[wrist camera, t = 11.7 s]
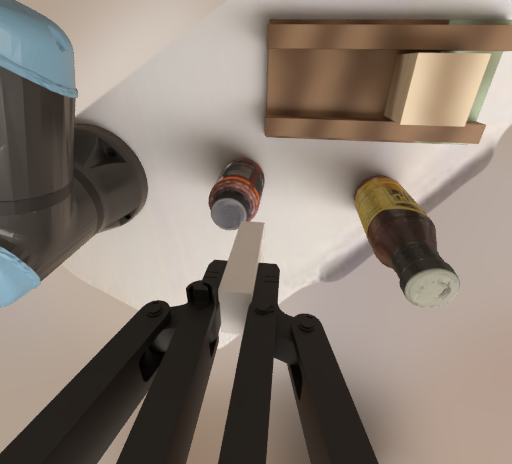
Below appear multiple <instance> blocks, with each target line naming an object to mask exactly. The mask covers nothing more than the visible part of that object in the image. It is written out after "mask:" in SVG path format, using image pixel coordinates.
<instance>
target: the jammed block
mask: <svg viewBox="0 0 512 464" xmlns="http://www.w3.org/2000/svg"><path fill="white" fill-rule="evenodd" d="M490 56H491V54H488V53H410V54H399V55H397V58H396V63H395V67H394V72H393V76H392V81H391V85H390V90H389V94H388V98H387V103H386V107H385V112H384V116H386V117H388V118H389V119H391V120H393V121H395V122H396V123H398V124H400V125H427V126H457V127H465V124H466V122H467V119H468V116H469V113H470V111H471V108H472V105H473V103H474V100H475V97H476V94H477V92H478V89H479V86H480V83H481V81H482V78H483V75H484V73H485V70H486V67H487V64H488V62H489V59H490Z"/></svg>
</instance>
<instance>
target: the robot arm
mask: <svg viewBox="0 0 512 464" xmlns="http://www.w3.org/2000/svg"><path fill="white" fill-rule="evenodd" d="M77 96H78V91H77V89H76V88H75V70H74V52H73V48H72V45H71V42H70V40H69V39H68V37H67V35H66V34H65V33H64V31H63V30H62V29H61V28H60V27H59V26H57V25H56V24H55V23H54V22H52V21H51V20H50V19H48V18H47V17H45V16H43V15H42V14H40V13H38V12H36V11H34V10H32V9H31V8H29V7H27V6H25V5H23V4H21V3H19V2H17V1H15V0H0V307H5V306H8V305H10V304H12V303H14V302H15V301H17V300H18V299H19V298H21V297H22V296H24V295H25V294H27V293H28V292H29V291H31V290H32V289H35V288H36V287H38V286H39V285H40V282H41V281H42V280H43V279H44V278H46V277H47V276H48V275H49V274H50V273H51V272H53V271H54V270H55V269H56V268H57V267H58V266H59V265H61V264H62V263H63V262H64V261H65V260H66V259H68V258H69V257H70V256H71V255H72V254H73V253H74V252H76V251H77V250H78V249H79V248H80V247H81V246H83V245H84V244H85V243H86V242H87V241H88V240H89V239H91V238H92V237H93V236H94V235H95V234H97V233H100V232H103V231H106V230H110V229H113V228H116V227H119V226H122V225H124V224H126V223H127V222H129V221H130V220H131V219H133V218H134V217H135V216H136V215H137V214H138V213H139V212H140V211H141V209H142V208H143V206H144V204H145V202H146V199H147V192H148V186H147V179H146V175H145V172H144V169H143V167H142V165H141V163H140V161H139V160H138V158H137V156H136V155H135V154H134V152H133V151H132V150H131V149H130V148H129V147H128V146H127V145H126V144H125V143H124V142H123V141H122V140H121V139H119V138H118V137H117V136H115V135H114V134H112V133H110V132H108V131H106V130H104V129H102V128H99V127H96V126H92V125H84V124H81V125H74V122H75V98H77ZM264 226H265V223H261V222H246V221H241V224H240V227H239V230H238V233H237V236H236V239H235V242H234V245H233V248H232V251H231V253H230V256H229V259H228V261H224V260H214V261H213V262H211V263H210V264H209V265H208V268H207V270H206V272H205V275H204V277H203V279H202V280H199V281H195V282H193V283H191V284H189V285H188V287H187V288H186V292H187V299H188V303H186V304H184V305H180V306H174V307H170V306H169V305H168V303H166V302H165V301H160V300H157V301H152V302H150V303H147V304H146V305H145V306H143V307H142V308H141V309H140V310H139V311H138V312H137V313H136V314H135V315H134V316H133V318H132V319H131V320H130V321H129V322H128V323H127V324H126V325H125V326H124V327H123V328H122V329H121V330H120V331H119V332H118V333H117V334H116V335H115V336H114V337H113V338H112V339H111V340H110V341H109V342H108V343H107V344H106V345H105V346H104V348H102V349H101V350H100V351H99V353H98V354H97V355H96V356H95V357H94V358H93V359H92V360H91V361H90V362H89V363H88V364H87V365H86V366H85V367H84V368H83V369H82V370H81V371H80V372H79V373H78V374H77V375H76V376H75V377H74V378H73V379H72V380H71V382H69V383H68V384H67V386H66V387H64V388H63V390H62V391H61V392H60V393H59V394H58V395H57V396H56V397H55V398H54V399H53V400H52V401H51V402H50V403H49V404H48V405H47V406H46V407H45V408H44V409H43V410H42V411H41V412H40V413H39V414H38V415H37V416H36V417H35V418H34V419H33V421H32V422H30V424H29V425H28V426H27V427H26V428H25V429H24V430H23V431H22V432H21V433H20V434H19V435H18V436H17V437H16V438H15V439H14V440H13V441H12V442H11V443H10V444H9V445H8V446H7V447H6V448H5V449H4V450H3V451H2V452H1V453H0V464H97V463H98V461H99V460H100V459H101V457H102V456H103V454H104V453H105V452H106V450H107V449H108V447H109V446H110V444H111V443H112V442H113V440H114V439H115V437H116V436H117V435H118V433H119V432H120V430H121V429H122V427H123V426H124V425H125V423H126V422H127V420H128V419H129V418H130V416H131V415H132V413H133V412H134V410H135V409H136V408H137V406H138V405H139V403H140V402H141V400H142V399H143V398H144V396H145V395H146V393H147V392H148V393H147V395H146V398H145V400H144V402H143V404H142V407H141V409H140V411H139V413H138V416H137V418H136V420H135V422H134V425H133V427H132V429H131V431H130V434H129V436H128V438H127V441H126V443H125V445H124V447H123V449H122V452H121V454H120V456H119V458H118V461H117V463H116V464H186V462H187V458H188V454H189V450H190V447H191V443H192V439H193V435H194V431H195V428H196V424H197V421H198V417H199V413H200V409H201V405H202V402H203V398H204V395H205V391H206V387H207V383H208V380H209V376H210V372H211V368H212V365H213V361H214V357H215V354H216V350H217V346H218V342H219V336H218V333H219V330H220V326H221V333H229V334H239V335H243V338H242V342H241V348H240V353H239V358H238V363H237V368H236V373H235V379H234V384H233V389H232V395H231V399H230V405H229V410H228V416H227V420H226V425H225V431H224V436H223V441H222V446H221V451H220V457H219V462H218V464H266V455H267V441H268V427H269V414H270V400H271V386H272V373H273V359H274V358H277V359H278V360H281V361H283V362H285V363H287V365H288V370H289V374H290V378H291V383H292V387H293V391H294V395H295V399H296V403H297V408H298V411H299V416H300V420H301V424H302V429H303V433H304V437H305V441H306V445H307V450H308V454H309V458H310V462H311V464H378V461H377V459H376V457H375V454H374V451H373V449H372V446H371V444H370V442H369V439H368V437H367V434H366V432H365V429H364V427H363V424H362V422H361V419H360V417H359V415H358V412H357V410H356V407H355V405H354V403H353V400H352V397H351V395H350V392H349V390H348V388H347V385H346V383H345V380H344V378H343V375H342V373H341V371H340V368H339V366H338V363H337V361H336V358H335V356H334V353H333V351H332V348H331V346H330V343H329V341H328V338H327V336H326V334H325V331H324V329H323V326H322V324H321V322H320V321H319V319H317V318H316V317H315V316H313V315H310V314H299V315H297V316H295V317H292V316H289V315H287V314H285V313H284V312H282V311H281V310H280V308H279V306H278V288H279V274H280V270H279V268H278V266H277V264H269V263H263V257H264Z"/></svg>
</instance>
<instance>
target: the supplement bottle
mask: <svg viewBox="0 0 512 464" xmlns="http://www.w3.org/2000/svg"><path fill="white" fill-rule="evenodd" d="M263 187H264V174H263V172H262V170H261V168H260V167H259V166H258V165H257V164H256V163H255V162H253V161H251V160H248V159H237V160H234V161H232V162H231V163H229V164H228V165H227V167H226V168H225V169H224V171H223V172H222V174H221V176H220V177H219V179H218V180H217V182H216V183H215V185H214V187H213V188H212V190H211V192H210V195H209V207H210V210H211V217H212V219H213V221H214V223H215V224H216V225H218V226H219V227H220V228H222V229H225V230H236V229H239V227H240V224H241V221H246V222H249V221H251V220H252V219H253V218H254V217H255V215H256V213H257V211H258V208H259V204H260V200H261V196H262V191H263Z"/></svg>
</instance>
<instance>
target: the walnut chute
mask: <svg viewBox="0 0 512 464" xmlns="http://www.w3.org/2000/svg"><path fill="white" fill-rule="evenodd" d="M267 48H268V49H269V55H268V88H267V115H266V117H265V136H266V137H278V138H303V139H329V140H355V141H380V142H406V143H432V144H458V145H467V144H468V143H472V144H479V142H480V139H481V137H482V134H483V132H484V129H485V127H486V125H485V124H482V123H478V122H476V121H477V118H478V115H479V113H480V110H481V108H482V105H483V102H484V100H485V97H486V95H487V92H488V89H489V87H490V84H491V81H492V79H493V76H494V74H495V71H496V68H497V66H498V63H499V61H500V58H501V55H502V53H503V51H512V20H270V21H269V24H268V37H267ZM410 53H488V54H491V56H490V59H489V62H488V64H487V67H486V70H485V73H484V75H483V78H482V81H481V83H480V86H479V89H478V92H477V94H476V97H475V100H474V103H473V105H472V108H471V111H470V113H469V116H468V119H467V122H466V124H465V127H457V126H427V125H400V124H398V123H396V122H395V121H393V120H391V119H389V118H388V117H386V116H384V112H385V107H386V103H387V98H388V94H389V90H390V85H391V81H392V76H393V72H394V67H395V63H396V58H397V55H399V54H410Z"/></svg>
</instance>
